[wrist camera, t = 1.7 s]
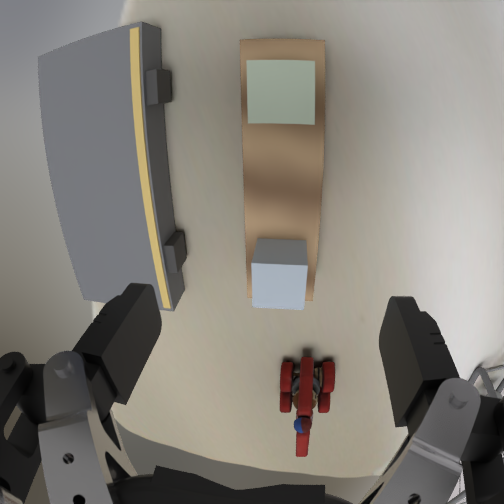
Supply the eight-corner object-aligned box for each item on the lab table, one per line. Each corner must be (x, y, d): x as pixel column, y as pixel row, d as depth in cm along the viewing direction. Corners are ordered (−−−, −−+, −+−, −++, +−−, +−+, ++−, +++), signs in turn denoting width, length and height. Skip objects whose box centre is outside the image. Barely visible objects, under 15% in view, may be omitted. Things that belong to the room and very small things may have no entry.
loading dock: (62, 56, 23) (36, 57, 20) (170, 26, 22) (151, 18, 18) (99, 281, 37) (83, 300, 33) (193, 290, 35) (182, 313, 32)
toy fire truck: (336, 345, 37) (341, 415, 28) (326, 400, 43) (327, 459, 34) (280, 345, 38) (274, 415, 29) (281, 400, 44) (275, 459, 35)
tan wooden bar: (249, 48, 23) (239, 39, 18) (319, 49, 22) (324, 40, 18) (253, 269, 33) (247, 297, 29) (310, 272, 33) (312, 301, 28)
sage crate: (254, 66, 19) (246, 60, 16) (311, 66, 19) (314, 60, 15) (255, 118, 21) (247, 123, 18) (311, 119, 21) (314, 124, 17)
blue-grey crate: (257, 238, 26) (251, 263, 22) (306, 240, 25) (307, 265, 22) (258, 279, 28) (252, 307, 24) (303, 281, 27) (303, 309, 24)
